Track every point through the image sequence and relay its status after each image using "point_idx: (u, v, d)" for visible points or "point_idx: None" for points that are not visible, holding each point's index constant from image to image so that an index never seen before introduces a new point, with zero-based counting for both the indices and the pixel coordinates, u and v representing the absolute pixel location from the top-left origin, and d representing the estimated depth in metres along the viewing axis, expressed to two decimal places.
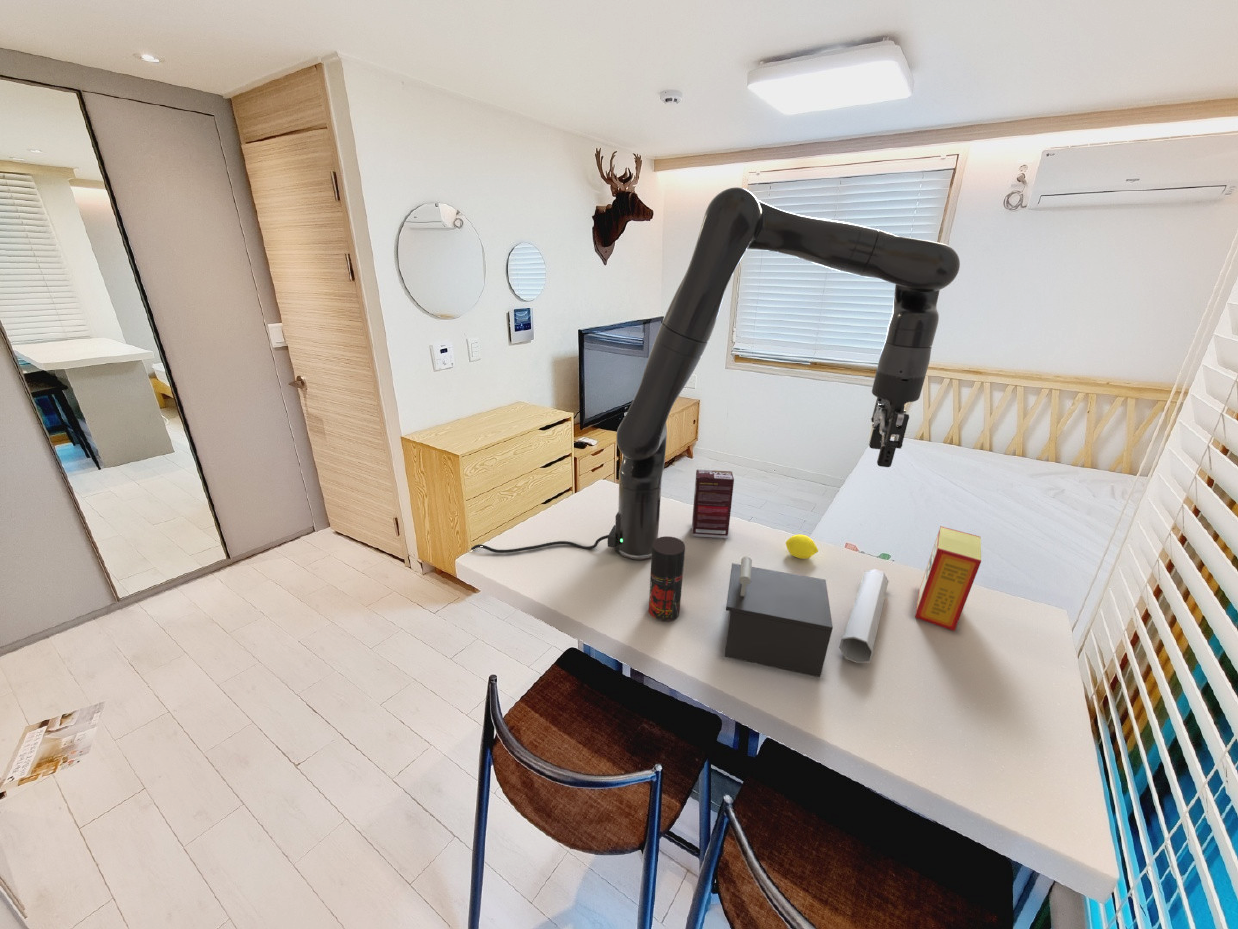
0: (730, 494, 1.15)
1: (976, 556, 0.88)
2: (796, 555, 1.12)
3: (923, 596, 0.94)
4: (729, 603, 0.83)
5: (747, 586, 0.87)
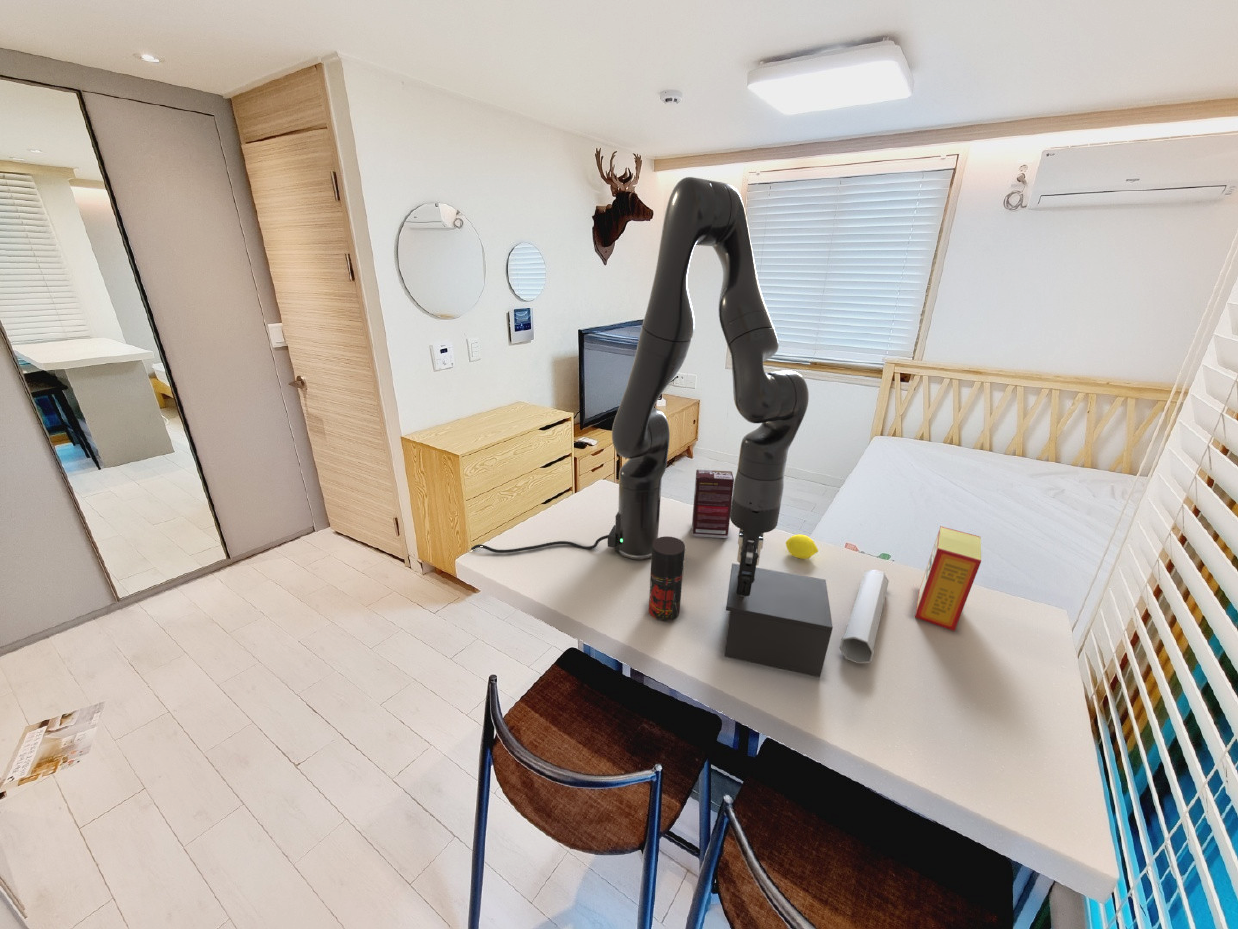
0: (730, 494, 1.15)
1: (976, 556, 0.88)
2: (796, 555, 1.12)
3: (923, 596, 0.94)
4: (729, 603, 0.83)
5: None
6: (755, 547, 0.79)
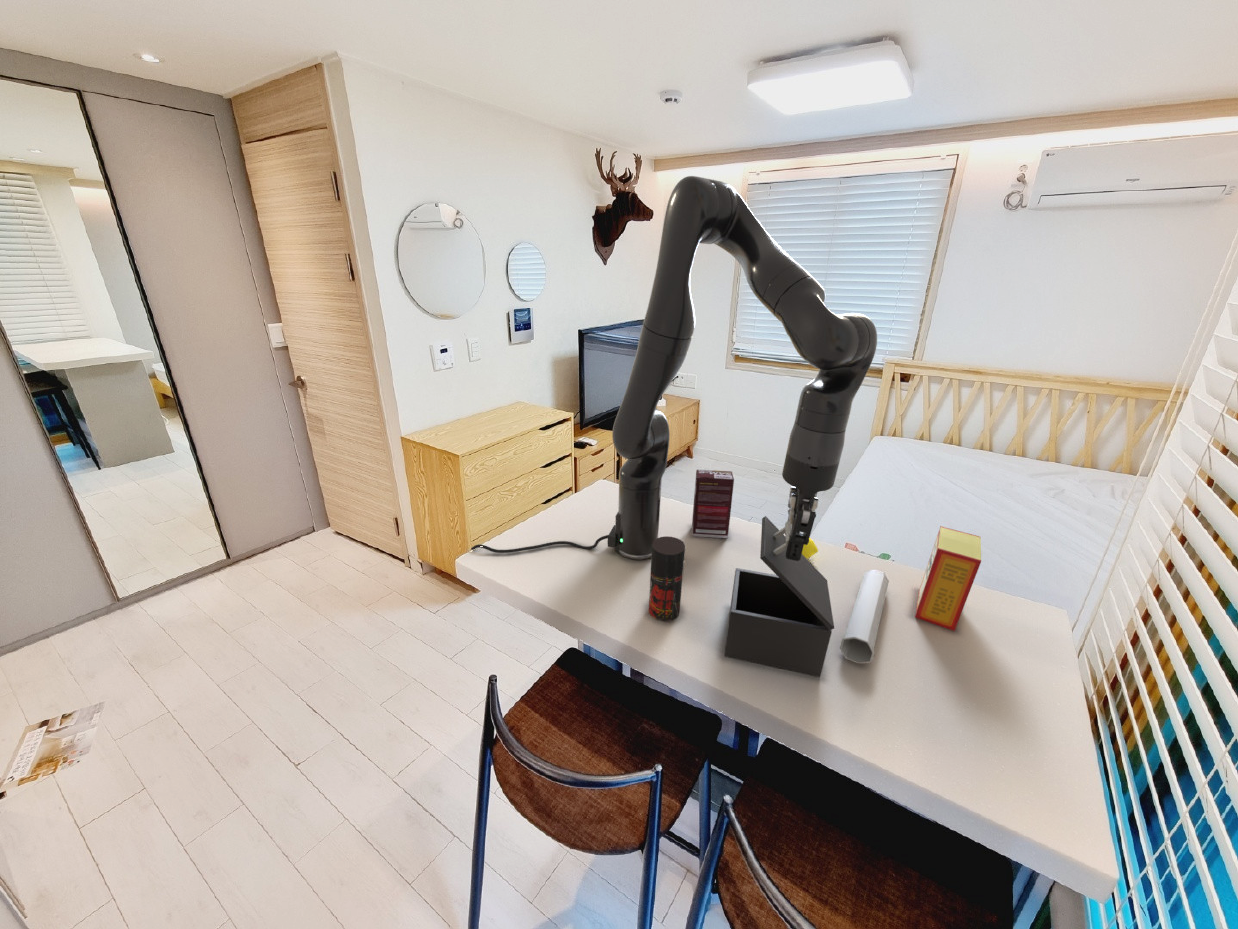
0: (730, 494, 1.15)
1: (976, 556, 0.88)
2: None
3: (923, 596, 0.94)
4: (766, 554, 0.77)
5: (777, 547, 0.82)
6: (811, 506, 0.74)
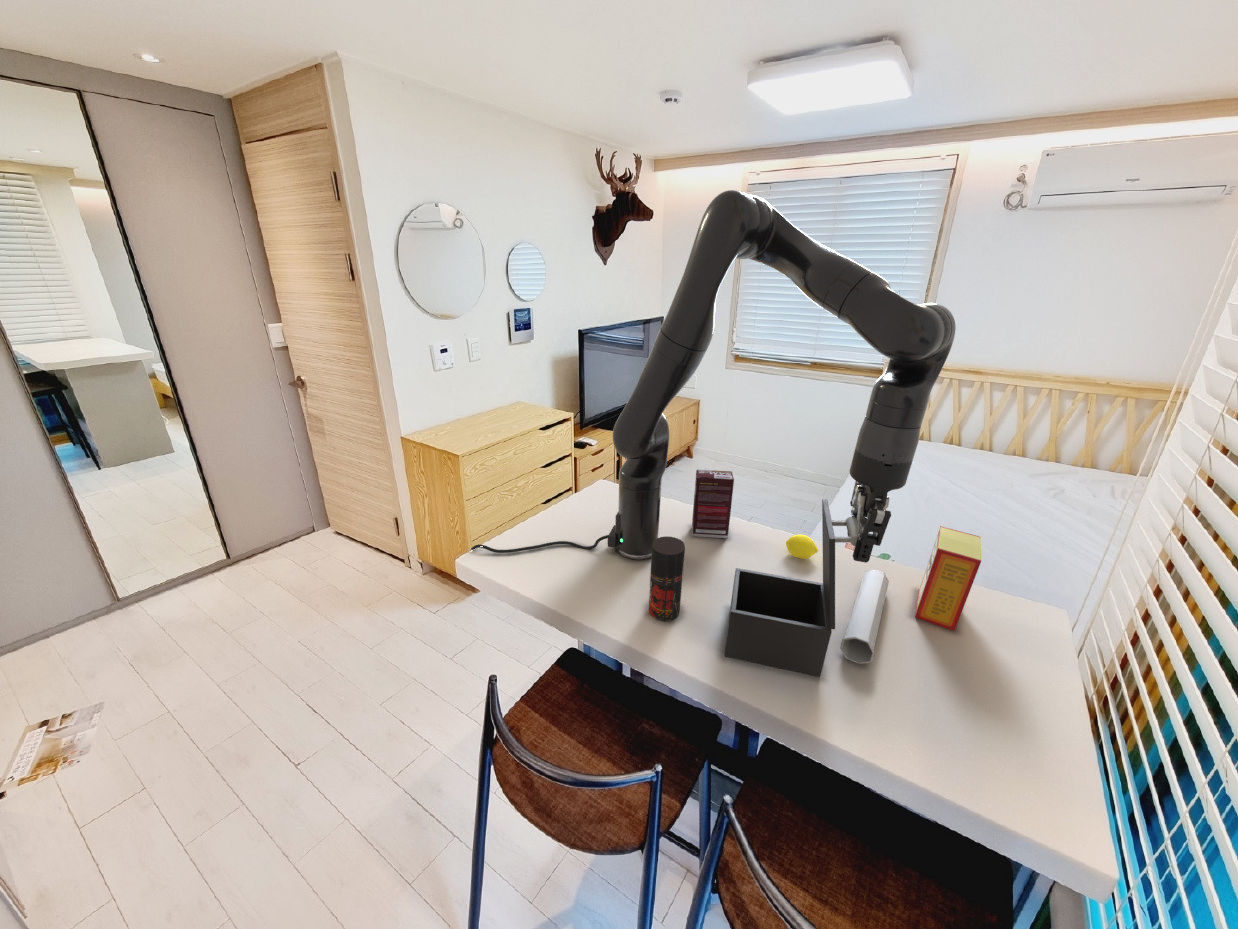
0: (730, 494, 1.15)
1: (976, 556, 0.88)
2: (796, 555, 1.12)
3: (923, 596, 0.94)
4: (834, 538, 0.73)
5: None
6: (883, 506, 0.71)
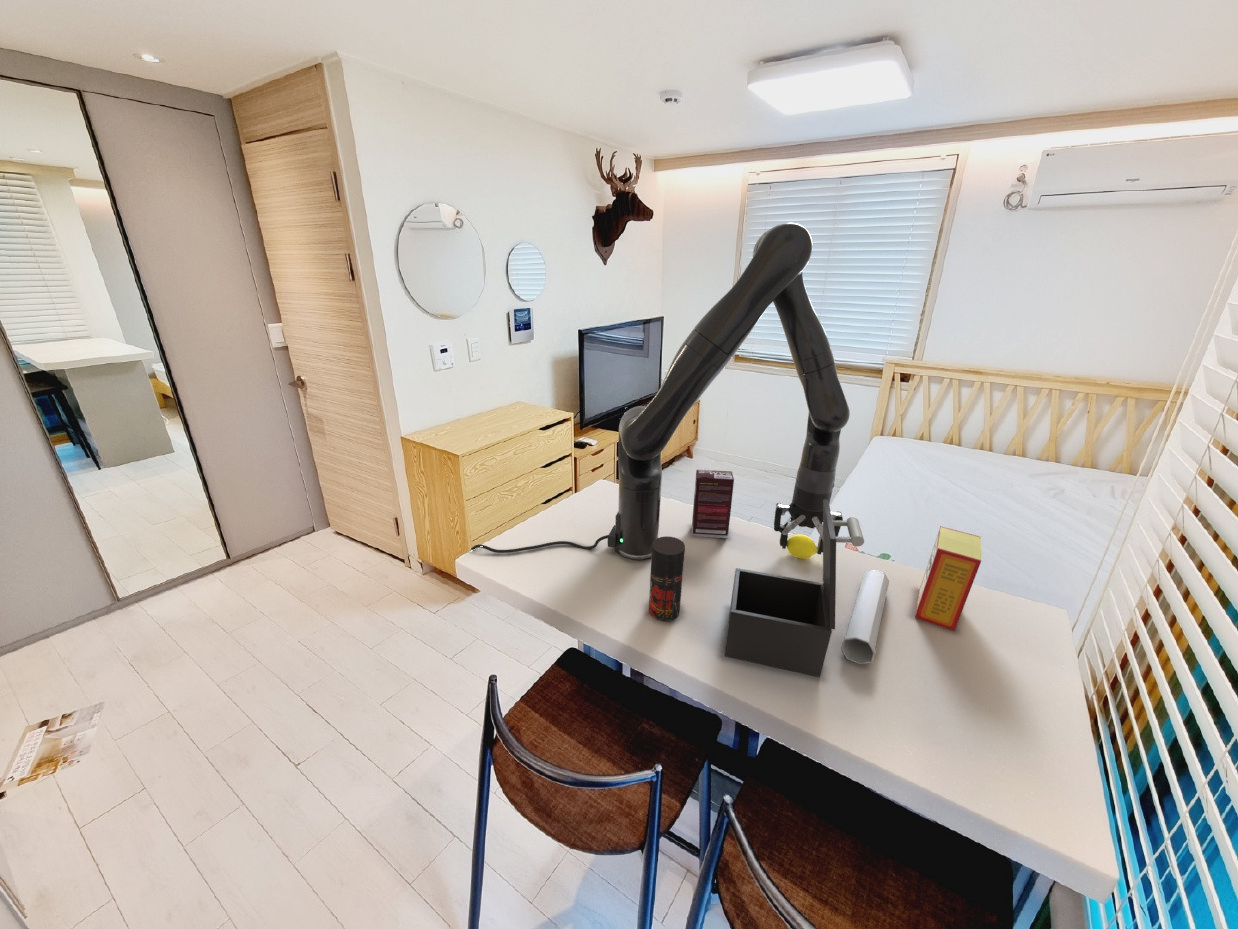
0: (730, 494, 1.15)
1: (976, 556, 0.88)
2: (796, 555, 1.12)
3: (923, 596, 0.94)
4: (835, 538, 0.73)
5: None
6: (789, 511, 1.10)
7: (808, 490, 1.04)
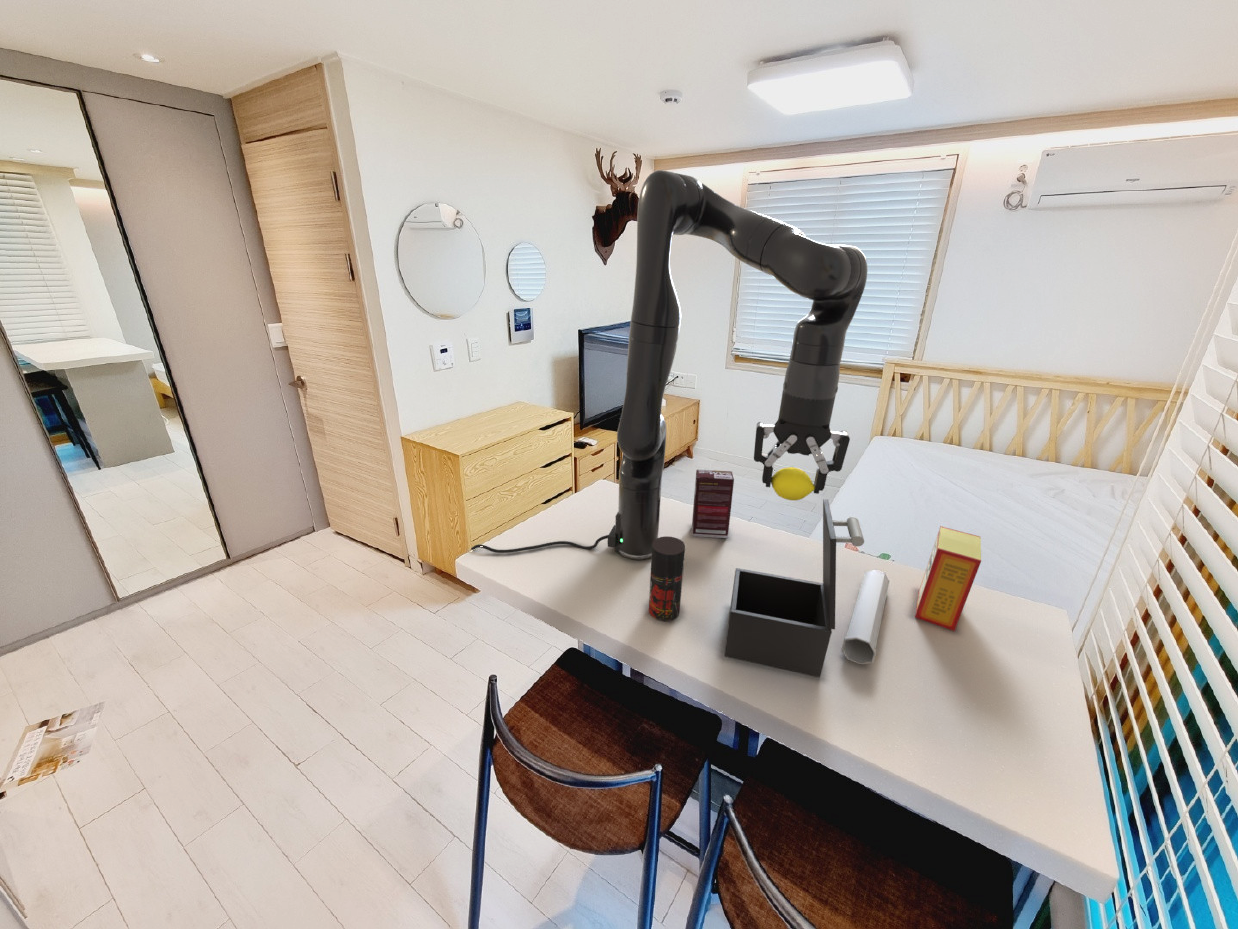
0: (730, 494, 1.15)
1: (976, 556, 0.88)
2: (785, 495, 0.80)
3: (923, 596, 0.94)
4: (835, 538, 0.73)
5: None
6: (774, 431, 0.78)
7: (801, 395, 0.72)
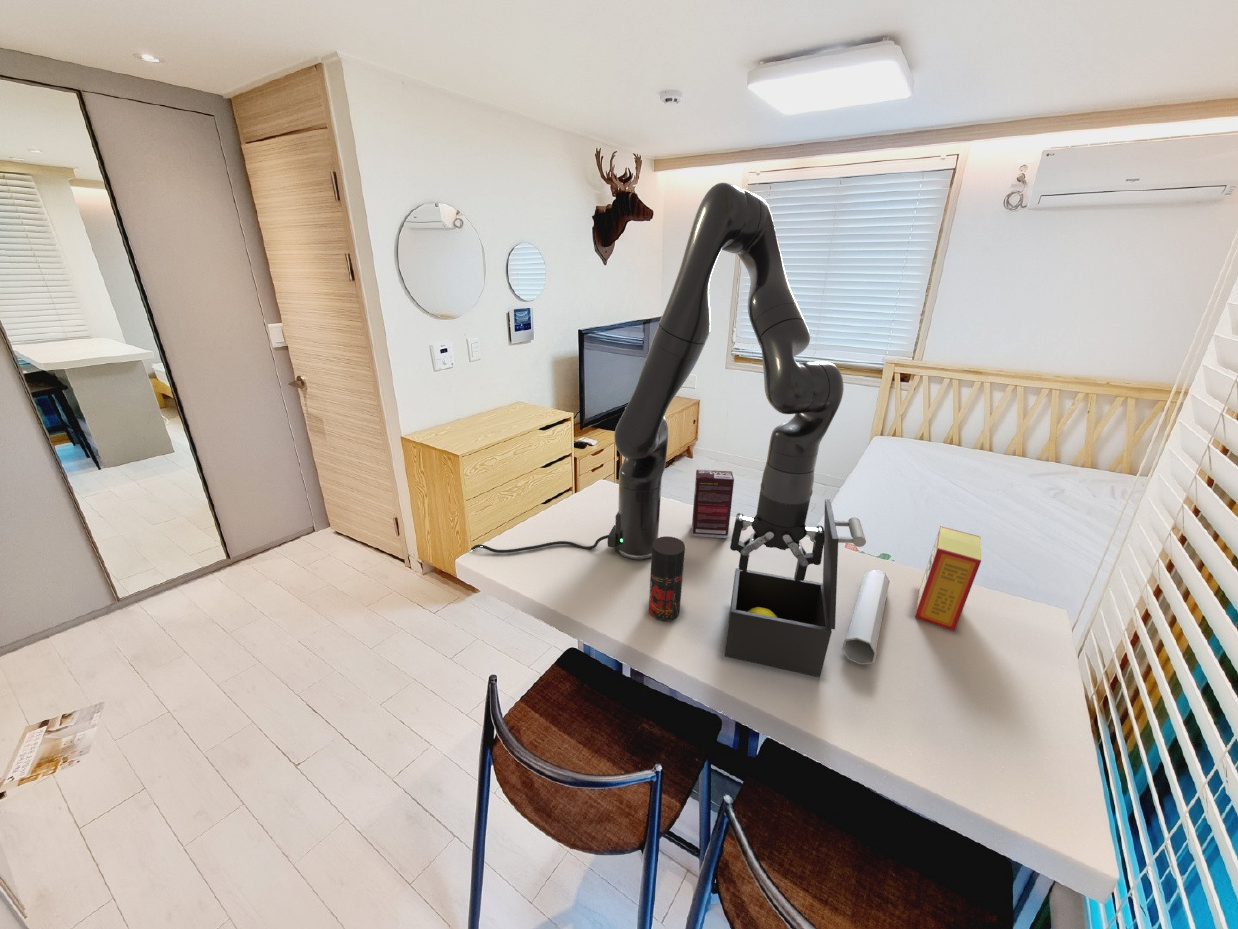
0: (730, 494, 1.15)
1: (976, 556, 0.88)
2: None
3: (923, 596, 0.94)
4: (837, 538, 0.73)
5: None
6: (752, 526, 0.81)
7: (776, 499, 0.75)
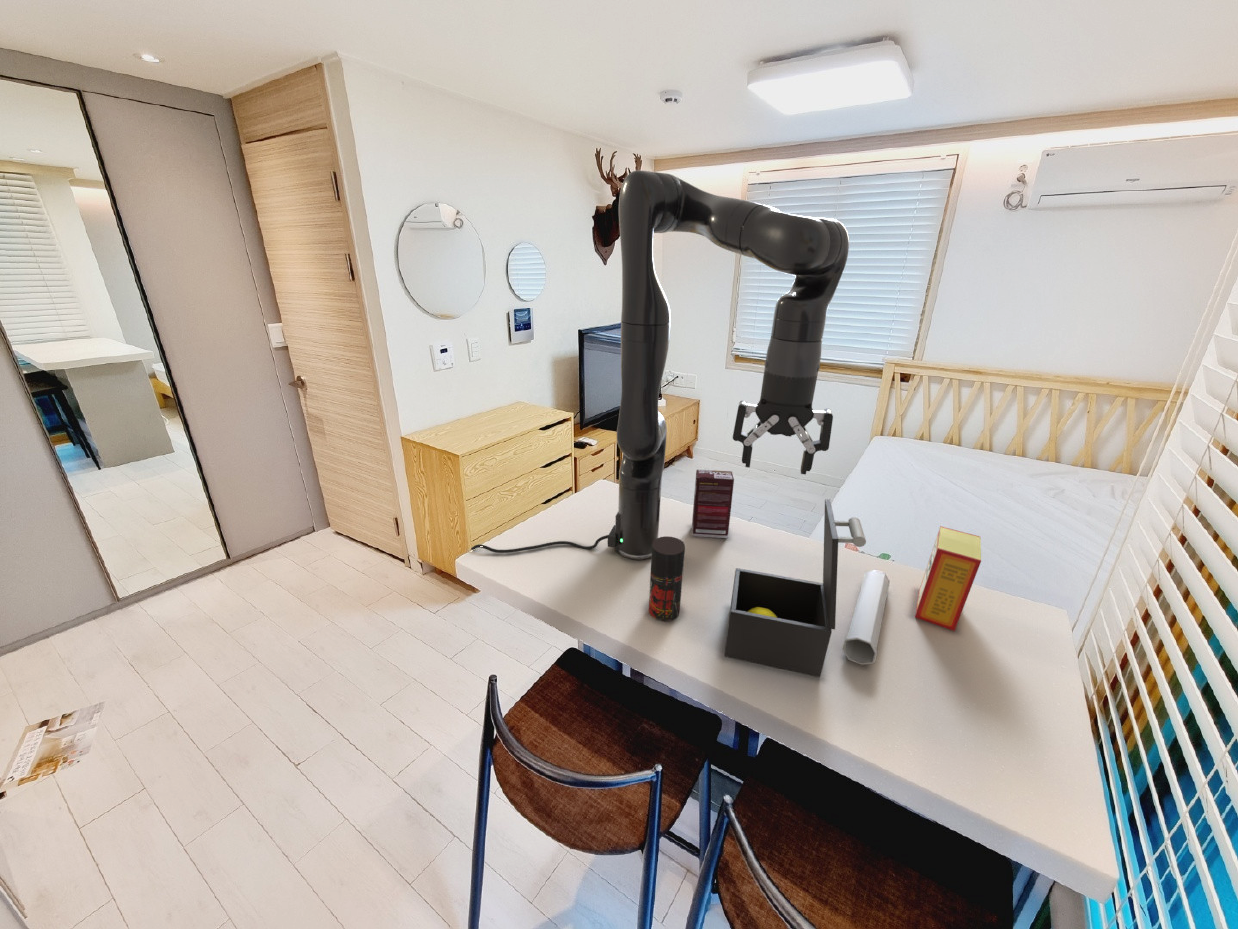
0: (730, 494, 1.15)
1: (976, 556, 0.88)
2: None
3: (923, 596, 0.94)
4: (837, 538, 0.73)
5: None
6: (756, 411, 0.77)
7: (781, 373, 0.71)
